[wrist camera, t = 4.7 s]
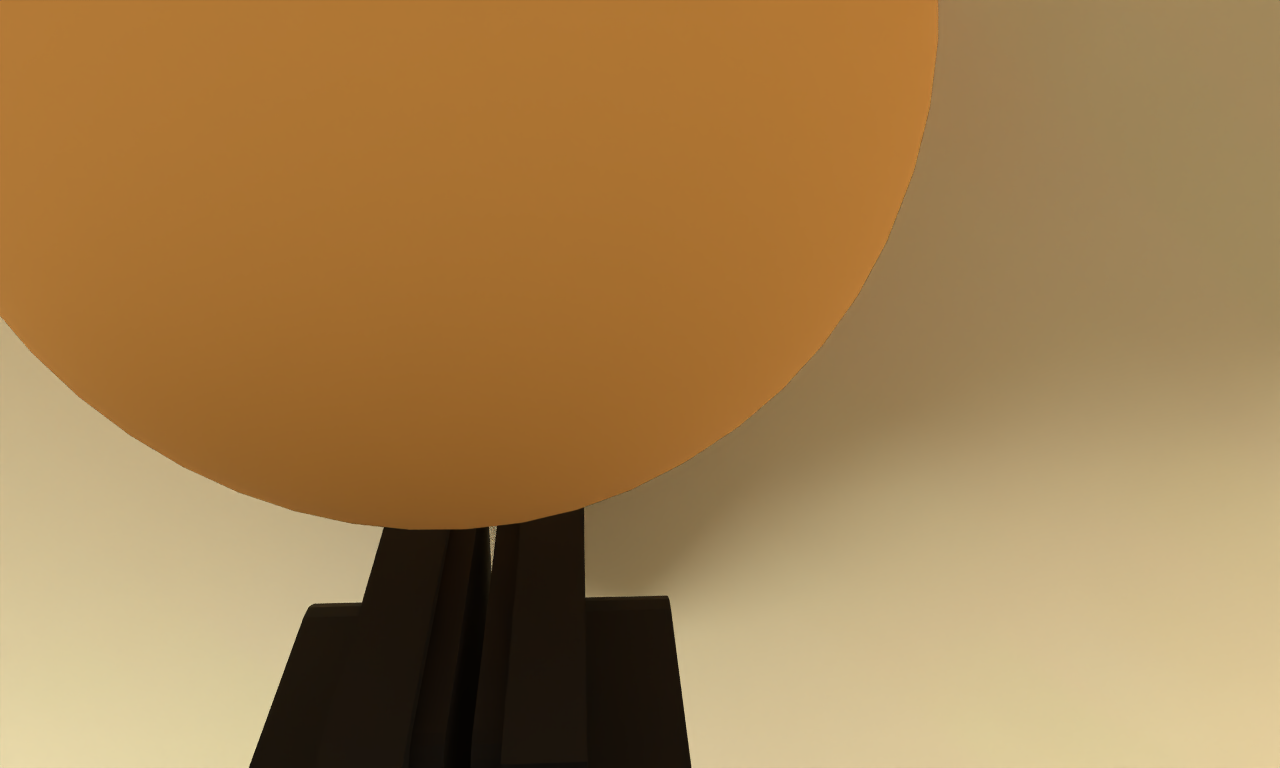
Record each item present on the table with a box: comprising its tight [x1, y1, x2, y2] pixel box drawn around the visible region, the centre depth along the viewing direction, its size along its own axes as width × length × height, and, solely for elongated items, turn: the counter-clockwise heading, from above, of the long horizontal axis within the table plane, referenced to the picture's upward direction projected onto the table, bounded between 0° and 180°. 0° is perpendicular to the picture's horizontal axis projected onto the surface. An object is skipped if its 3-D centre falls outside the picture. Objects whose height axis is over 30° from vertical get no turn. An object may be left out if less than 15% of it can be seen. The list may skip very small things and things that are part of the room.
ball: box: [0, 0, 938, 530], centre depth 7 cm, size 6×6×6 cm
